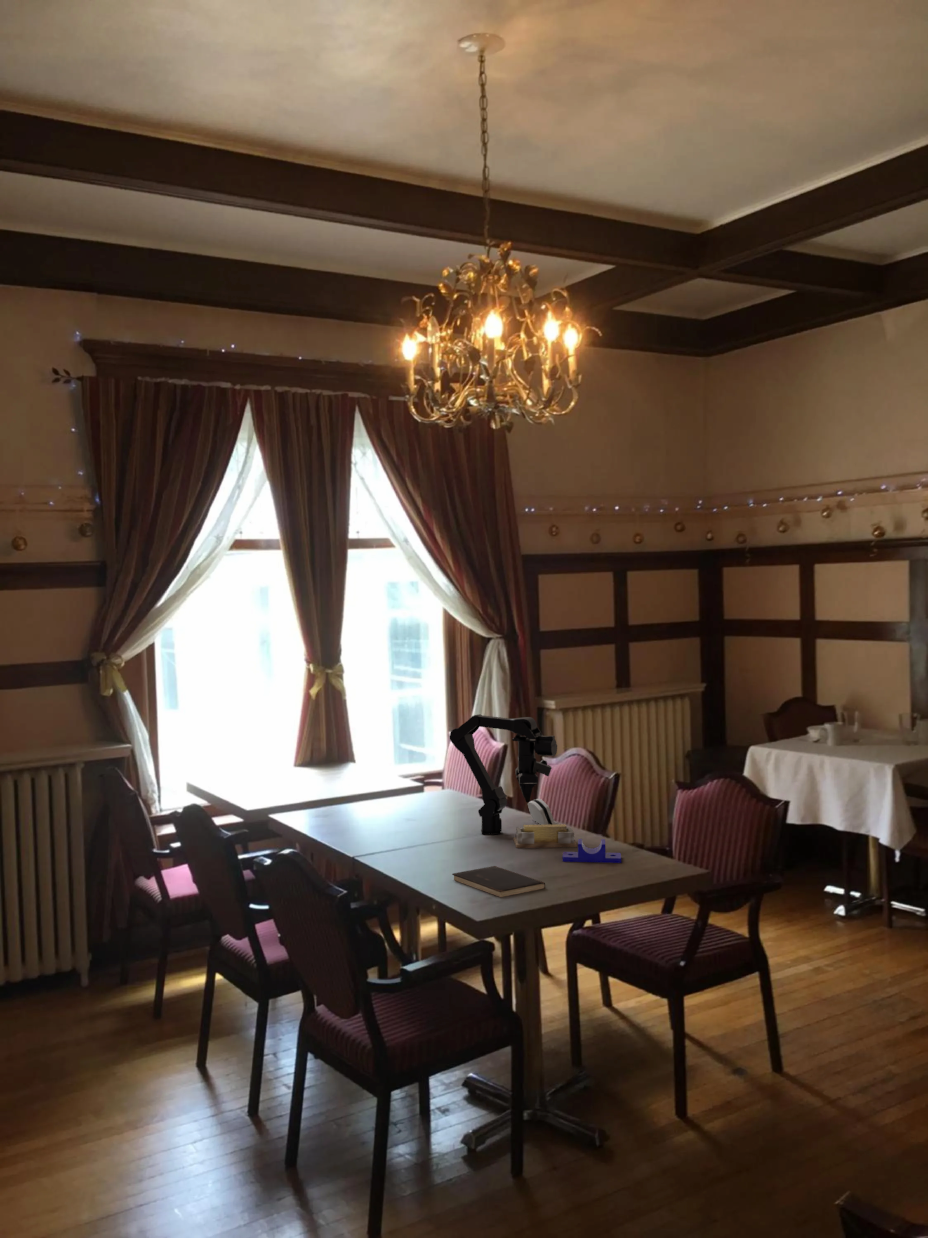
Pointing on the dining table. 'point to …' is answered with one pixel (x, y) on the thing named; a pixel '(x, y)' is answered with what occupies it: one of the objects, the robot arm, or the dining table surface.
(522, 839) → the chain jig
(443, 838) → the dining table surface
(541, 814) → the grey curved slab
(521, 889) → the hardcover book
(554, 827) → the brass link
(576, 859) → the mounting bracket
